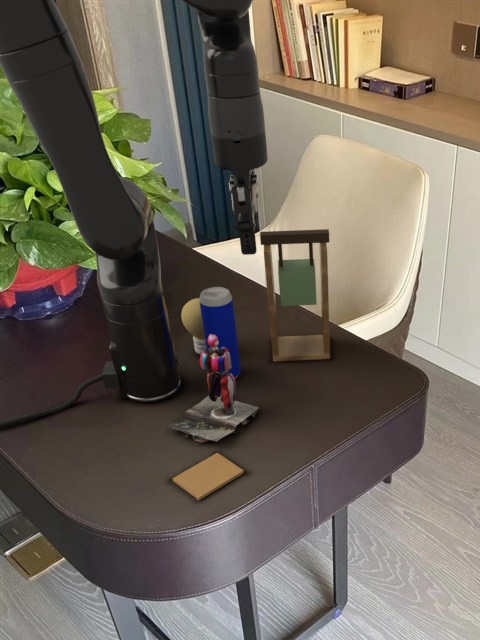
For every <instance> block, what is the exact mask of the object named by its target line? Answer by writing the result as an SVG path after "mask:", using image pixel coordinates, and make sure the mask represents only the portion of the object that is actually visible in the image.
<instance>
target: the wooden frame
mask: <svg viewBox="0 0 480 640" xmlns="http://www.w3.org/2000/svg"><path fill="white" fill-rule="evenodd" d="M318 245H319V246H318V248H319V250H318V251H319V273H320V274H319V275H320V304H321V306H320V307H321V331H322V332H321V334H312V335H311V334H310V335H309V334H308V335H287V336H279V329H278V328H279V327H278V313H277V302H276V288H275V287H276V286H275V275H274V274H275V273H274V265H273V264H274V263H273V251H272V245H263V259H264V268H265V269H264V271H265V282H266V293H267V294H266V295H267V306H268V319H269V329H270V340H271V342H270V343H271V352H272V353H271V354H272V361H273V362H292V361H314V360H330V359H331V337H330V336H331V335H330V333H331V332H330V305H329V304H330V302H329V301H330V299H329V266H328V265H329V263H328V262H329V261H328V245H327V243H318Z"/></svg>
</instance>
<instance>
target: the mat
mask: <svg viewBox="0 0 480 640" xmlns="http://www.w3.org/2000/svg"><path fill="white" fill-rule="evenodd" d="M244 474H245V471H244V469H242V468H241V467H239V466H238V465H236V464H235V463H233V461H230V459H228V458H226V457H225V456H223V455H222V454H220V453H218V452H216V453H214V454H213V455H210V456H209V457H207V458H205V459H204V460H201V461H200V462H198V463H197V464H195V465H193V466H192V467H190V468H188V469H186V470H184V471H183V472H181V473H179V474H178V475H176V476H174V477H172V482H174V483H175V484H177V485H178V487H180V488H182V489H183V490H185V491H186V492H187V493H188V494H190V495H191V496H192V497H194V498H195V499H196V500H197V501H201V500H203V499H204V498H206V497H207V496H209V495H211V494H212V493H214V492H216V491H217V490H219V489H221V488H222V487H224V486H225V485H227V484H228V483H230V482H232V481H233V480H235V479H237V478H238V477H240V476H242V475H244Z"/></svg>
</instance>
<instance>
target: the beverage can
mask: <svg viewBox="0 0 480 640" xmlns="http://www.w3.org/2000/svg"><path fill="white" fill-rule="evenodd" d="M199 298H200V299H199V302H200V308H201V315H202V322H203V328H204V335H205V341H206V348H207V351H208V350H209V348H211V347H210V345H209V344H208V337H209V335H210V334H213V335H216V336H217V338H218V342H219V344H218V346H217V347H218V348H220V349H221V348H222V347H225V348H226V349H228V350H229V353H230V358H231V369H230V370H228V371H227V372H229V373H231V374H232V375H233V377H234V379H235V380H236V379H237V378H238V377H239V376H240V374H241V372H242V368H241V360H240V350H239V344H238V343H239V342H238V335H237V326H236V318H235V310H234V302H233V300H234V299H233V296H232V294H231V291H230V290H229V289H228V288H226V287H222V286H212V287H207V288H205V289H203V290H202V291H201V292H200V295H199Z"/></svg>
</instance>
